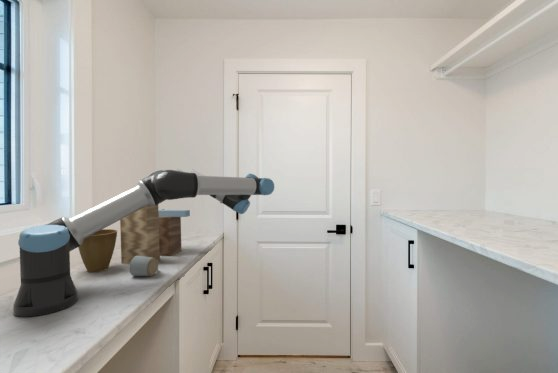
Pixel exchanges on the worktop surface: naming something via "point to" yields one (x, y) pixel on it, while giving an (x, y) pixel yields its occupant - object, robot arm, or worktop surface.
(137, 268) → the grey short cylinder
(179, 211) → the blue-grey block
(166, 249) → the wooden block with pegs
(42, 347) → the worktop surface
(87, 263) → the plant pot
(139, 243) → the stand
